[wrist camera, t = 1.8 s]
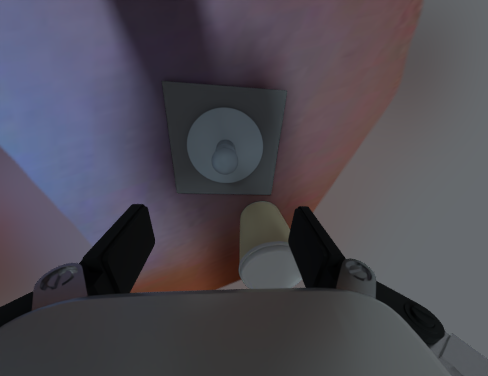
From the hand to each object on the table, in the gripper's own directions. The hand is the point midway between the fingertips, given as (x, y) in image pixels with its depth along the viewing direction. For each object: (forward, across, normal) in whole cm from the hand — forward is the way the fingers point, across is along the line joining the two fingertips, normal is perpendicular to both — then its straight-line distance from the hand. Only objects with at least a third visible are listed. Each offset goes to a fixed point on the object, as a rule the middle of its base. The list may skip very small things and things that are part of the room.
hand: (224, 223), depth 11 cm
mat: (+18, 0, -1) cm, 18 cm away
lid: (+17, 0, -1) cm, 17 cm away
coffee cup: (+18, -6, +13) cm, 23 cm away
